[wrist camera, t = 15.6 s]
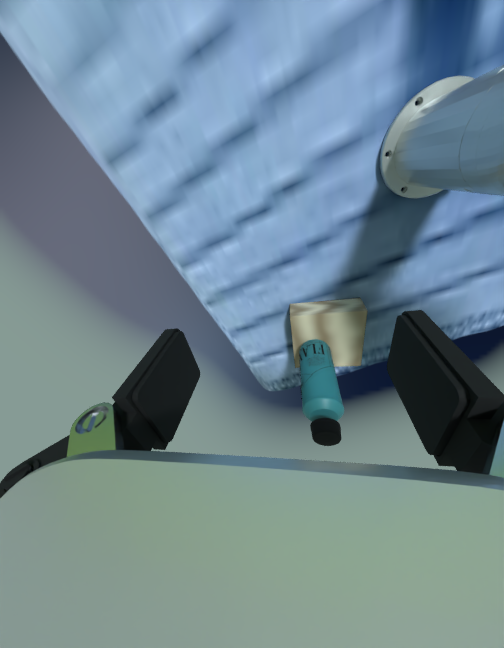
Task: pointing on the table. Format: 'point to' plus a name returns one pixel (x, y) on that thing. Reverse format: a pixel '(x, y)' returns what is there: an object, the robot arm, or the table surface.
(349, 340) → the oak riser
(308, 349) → the beverage bottle
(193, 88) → the table surface
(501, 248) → the table surface
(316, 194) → the table surface
